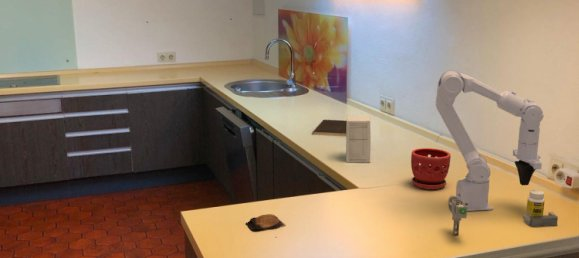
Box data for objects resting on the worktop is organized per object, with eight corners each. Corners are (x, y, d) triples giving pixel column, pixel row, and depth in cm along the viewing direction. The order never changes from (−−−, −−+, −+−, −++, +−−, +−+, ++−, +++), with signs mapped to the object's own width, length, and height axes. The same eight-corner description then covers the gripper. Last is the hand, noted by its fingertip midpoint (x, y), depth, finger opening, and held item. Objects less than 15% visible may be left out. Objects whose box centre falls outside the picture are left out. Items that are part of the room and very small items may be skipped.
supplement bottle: (532, 222, 184) (534, 195, 182) (522, 216, 188) (524, 190, 186) (546, 220, 185) (548, 193, 183) (535, 214, 190) (538, 188, 187)
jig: (530, 227, 180) (531, 219, 180) (523, 221, 184) (524, 213, 184) (558, 225, 181) (559, 217, 181) (551, 219, 185) (551, 211, 185)
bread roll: (275, 218, 190) (275, 207, 189) (287, 228, 182) (287, 216, 182) (243, 224, 185) (242, 213, 184) (253, 235, 178) (253, 223, 177)
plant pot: (449, 192, 208) (451, 158, 205) (409, 190, 211) (411, 156, 208) (448, 180, 221) (449, 147, 218) (410, 178, 223) (411, 145, 220)
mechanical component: (455, 227, 181) (457, 194, 178) (466, 242, 171) (468, 207, 168) (445, 227, 181) (447, 194, 178) (455, 242, 171) (458, 208, 168)
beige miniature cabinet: (369, 156, 250) (370, 115, 246) (370, 163, 241) (371, 120, 237) (345, 155, 251) (346, 115, 247) (345, 162, 242) (346, 120, 238)
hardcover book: (355, 125, 301) (355, 121, 300) (347, 137, 279) (347, 132, 279) (322, 124, 305) (322, 119, 304) (312, 135, 283) (312, 130, 283)
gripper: (553, 148, 182) (548, 192, 186) (529, 135, 196) (525, 176, 199) (530, 149, 181) (525, 193, 185) (507, 136, 195) (504, 177, 199)
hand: (524, 184), depth 192 cm, fingers closed
